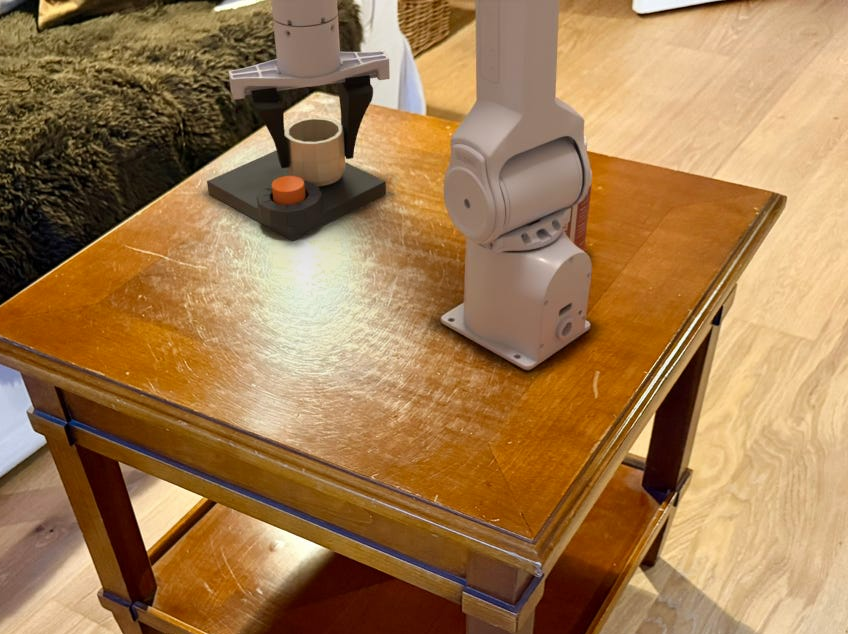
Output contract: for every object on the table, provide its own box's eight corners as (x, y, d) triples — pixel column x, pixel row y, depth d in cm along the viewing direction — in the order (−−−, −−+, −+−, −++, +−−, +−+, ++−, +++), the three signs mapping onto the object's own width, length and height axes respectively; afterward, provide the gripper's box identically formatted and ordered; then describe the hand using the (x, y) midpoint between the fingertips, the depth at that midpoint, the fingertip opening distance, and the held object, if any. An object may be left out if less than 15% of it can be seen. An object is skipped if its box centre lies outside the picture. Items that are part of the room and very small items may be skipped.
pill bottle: (554, 230, 93) (566, 115, 86) (597, 261, 89) (613, 143, 81) (498, 250, 91) (505, 134, 83) (540, 283, 87) (550, 163, 79)
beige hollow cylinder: (357, 172, 99) (355, 129, 96) (313, 194, 96) (310, 149, 93) (320, 154, 102) (316, 111, 99) (276, 174, 99) (271, 131, 96)
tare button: (312, 198, 94) (311, 182, 93) (287, 210, 92) (285, 194, 91) (291, 187, 95) (289, 172, 94) (266, 199, 94) (264, 183, 93)
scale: (389, 195, 99) (389, 167, 97) (288, 247, 93) (285, 218, 91) (300, 152, 106) (297, 125, 104) (200, 197, 100) (196, 169, 98)
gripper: (375, -10, 93) (379, 130, 102) (217, 9, 91) (236, 150, 100) (394, 17, 88) (396, 162, 97) (227, 37, 86) (246, 184, 95)
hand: (316, 158), depth 98 cm, fingers closed on beige hollow cylinder, 6 cm apart
